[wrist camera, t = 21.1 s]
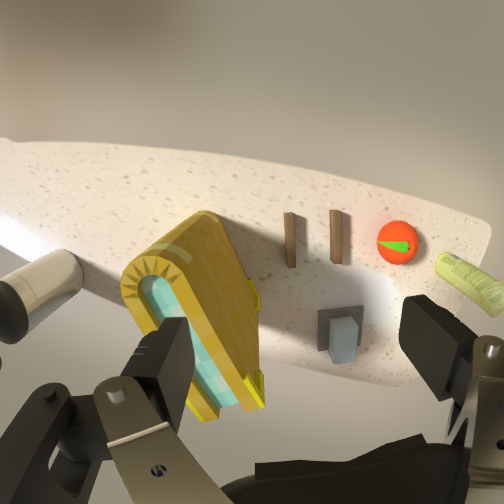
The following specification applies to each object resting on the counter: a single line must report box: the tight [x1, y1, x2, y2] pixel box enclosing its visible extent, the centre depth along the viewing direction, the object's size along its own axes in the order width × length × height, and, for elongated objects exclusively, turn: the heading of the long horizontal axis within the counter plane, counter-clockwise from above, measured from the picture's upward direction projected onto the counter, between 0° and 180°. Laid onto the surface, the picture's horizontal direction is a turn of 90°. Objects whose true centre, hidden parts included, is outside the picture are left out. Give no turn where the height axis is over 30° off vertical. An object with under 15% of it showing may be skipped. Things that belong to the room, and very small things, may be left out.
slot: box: [284, 210, 342, 268], centre depth 45 cm, size 8×8×2 cm
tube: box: [435, 252, 504, 317], centre depth 38 cm, size 6×5×20 cm
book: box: [120, 211, 265, 423], centre depth 35 cm, size 17×7×25 cm, turn 23°
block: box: [329, 316, 358, 364], centre depth 48 cm, size 4×7×4 cm, turn 5°
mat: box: [318, 306, 363, 351], centre depth 50 cm, size 8×8×1 cm
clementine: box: [377, 221, 419, 265], centre depth 43 cm, size 8×7×7 cm
